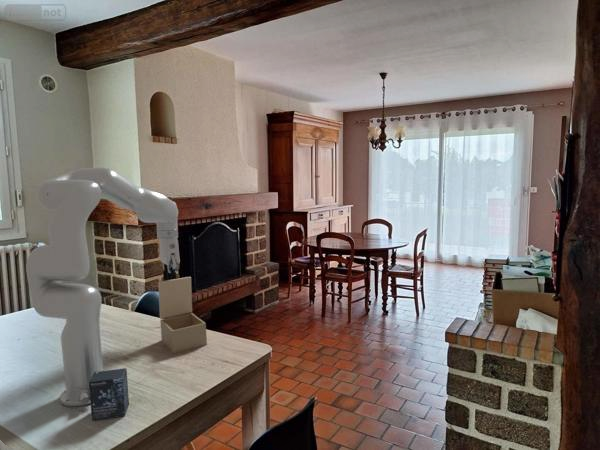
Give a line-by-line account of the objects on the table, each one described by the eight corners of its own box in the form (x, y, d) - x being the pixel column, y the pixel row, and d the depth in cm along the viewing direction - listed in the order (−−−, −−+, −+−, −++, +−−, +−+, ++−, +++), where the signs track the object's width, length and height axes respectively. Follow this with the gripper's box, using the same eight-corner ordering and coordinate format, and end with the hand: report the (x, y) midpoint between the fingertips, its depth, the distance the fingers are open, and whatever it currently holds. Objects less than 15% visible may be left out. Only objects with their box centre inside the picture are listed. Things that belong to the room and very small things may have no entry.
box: (91, 421, 100) (88, 381, 99) (97, 409, 105) (94, 371, 104) (125, 417, 102) (122, 377, 100) (129, 404, 107) (126, 367, 106)
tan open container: (206, 344, 144) (205, 323, 143) (173, 353, 137) (172, 331, 136) (193, 332, 156) (191, 312, 155) (161, 340, 149) (160, 319, 148)
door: (191, 277, 152) (186, 273, 156) (158, 282, 145) (154, 278, 149) (192, 311, 154) (187, 307, 159) (160, 318, 147) (156, 313, 152)
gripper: (185, 235, 146) (187, 284, 148) (170, 231, 160) (172, 276, 162) (164, 237, 142) (166, 287, 144) (151, 232, 156) (153, 279, 158)
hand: (170, 281), depth 153 cm, fingers open, 4 cm apart
